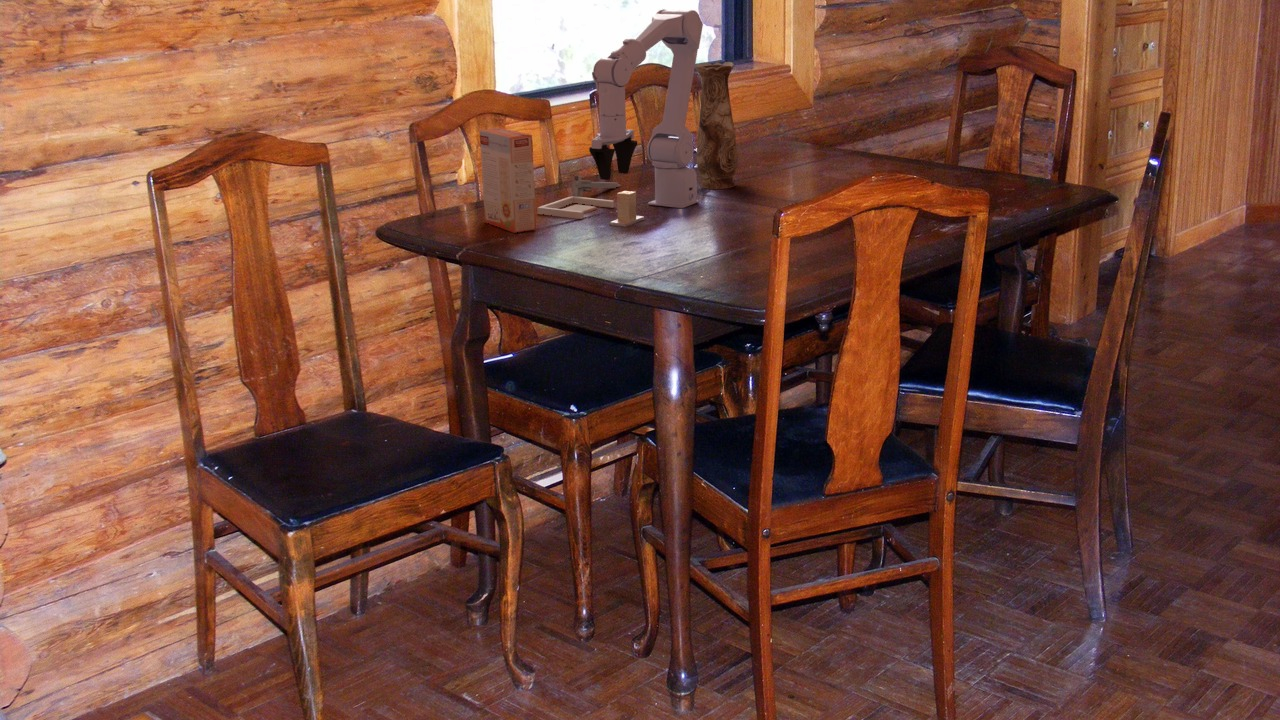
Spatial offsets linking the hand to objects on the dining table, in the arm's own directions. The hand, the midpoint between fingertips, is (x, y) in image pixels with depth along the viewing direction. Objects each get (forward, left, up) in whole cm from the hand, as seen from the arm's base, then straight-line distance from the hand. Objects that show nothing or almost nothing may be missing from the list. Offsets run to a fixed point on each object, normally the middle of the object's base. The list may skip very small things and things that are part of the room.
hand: (614, 176), depth 281 cm
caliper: (+20, -22, -10) cm, 32 cm away
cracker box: (+18, +16, -10) cm, 26 cm away
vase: (-2, -43, -10) cm, 44 cm away
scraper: (-3, +1, -10) cm, 11 cm away
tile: (+13, -4, -10) cm, 17 cm away
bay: (+14, -4, -10) cm, 17 cm away
